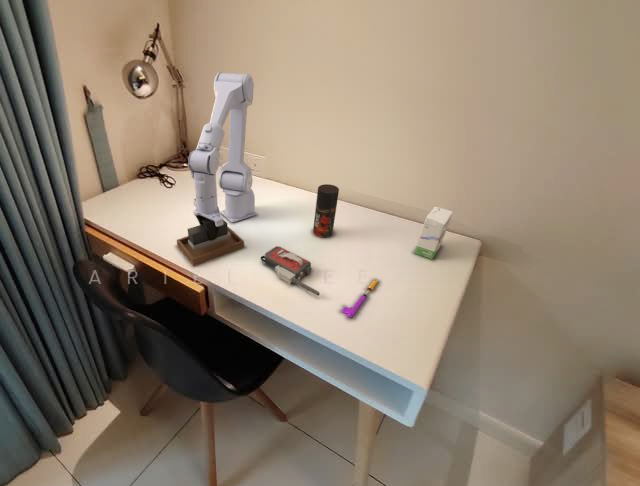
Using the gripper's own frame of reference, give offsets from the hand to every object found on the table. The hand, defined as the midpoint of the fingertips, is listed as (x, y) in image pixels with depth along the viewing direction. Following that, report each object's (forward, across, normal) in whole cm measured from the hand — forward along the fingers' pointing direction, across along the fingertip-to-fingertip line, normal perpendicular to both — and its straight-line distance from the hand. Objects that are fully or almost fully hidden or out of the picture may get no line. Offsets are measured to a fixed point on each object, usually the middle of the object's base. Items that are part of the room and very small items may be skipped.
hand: (209, 236), depth 102 cm
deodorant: (+4, +12, +33) cm, 35 cm away
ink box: (+4, +35, +52) cm, 63 cm away
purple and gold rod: (+4, +38, +21) cm, 44 cm away
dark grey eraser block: (+1, 0, 0) cm, 1 cm away
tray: (+4, 0, 0) cm, 4 cm away
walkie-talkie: (+4, +23, +13) cm, 27 cm away
